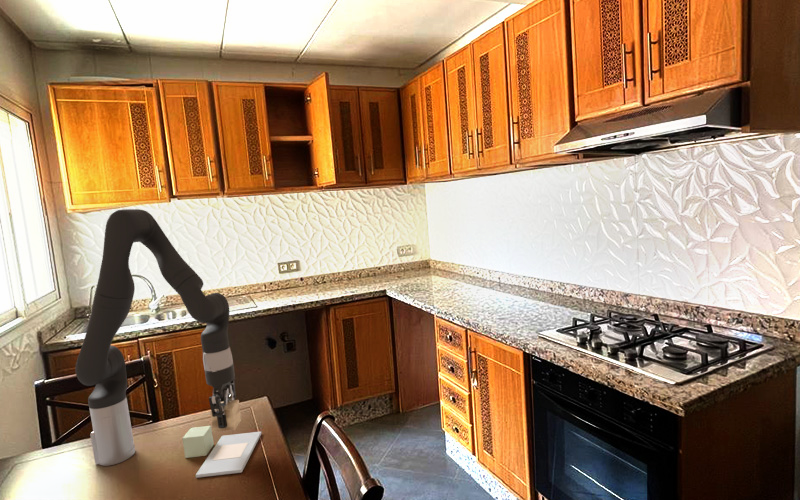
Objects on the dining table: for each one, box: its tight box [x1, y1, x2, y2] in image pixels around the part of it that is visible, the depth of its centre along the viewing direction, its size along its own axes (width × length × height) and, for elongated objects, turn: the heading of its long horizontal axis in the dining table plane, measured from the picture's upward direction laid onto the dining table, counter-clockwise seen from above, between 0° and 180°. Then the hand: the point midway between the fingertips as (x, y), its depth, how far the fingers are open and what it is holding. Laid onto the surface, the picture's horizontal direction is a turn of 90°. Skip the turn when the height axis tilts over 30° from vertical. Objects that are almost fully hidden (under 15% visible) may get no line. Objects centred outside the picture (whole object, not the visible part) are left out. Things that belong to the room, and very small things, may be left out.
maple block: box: [209, 399, 242, 433], centre depth 127 cm, size 6×6×6 cm
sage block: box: [182, 425, 215, 459], centre depth 131 cm, size 6×6×6 cm
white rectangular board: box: [195, 431, 262, 478], centre depth 128 cm, size 12×20×1 cm, turn 3°
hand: (227, 421), depth 127 cm, fingers closed on maple block, 6 cm apart
